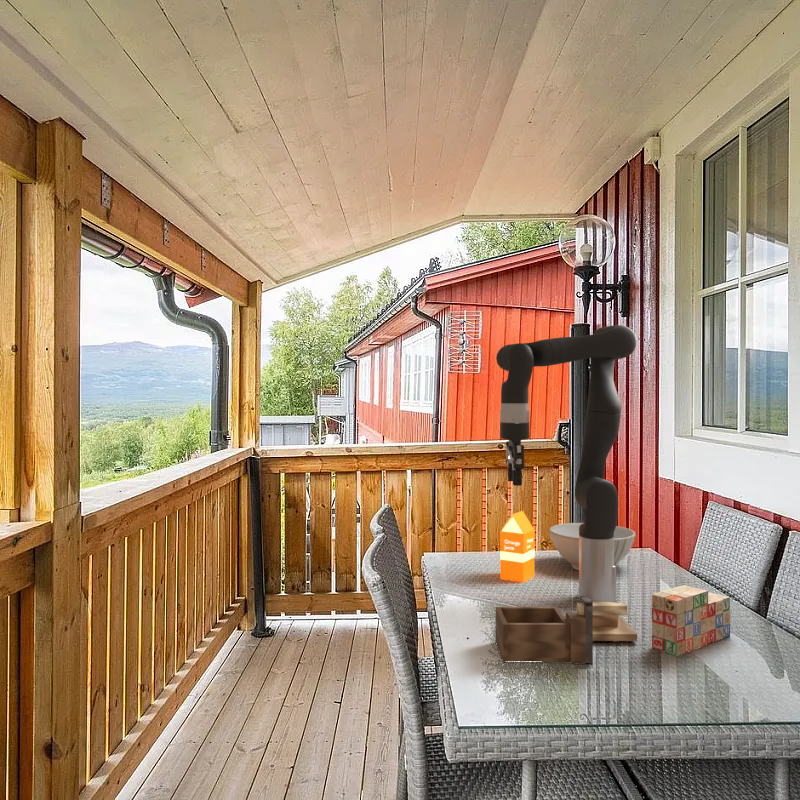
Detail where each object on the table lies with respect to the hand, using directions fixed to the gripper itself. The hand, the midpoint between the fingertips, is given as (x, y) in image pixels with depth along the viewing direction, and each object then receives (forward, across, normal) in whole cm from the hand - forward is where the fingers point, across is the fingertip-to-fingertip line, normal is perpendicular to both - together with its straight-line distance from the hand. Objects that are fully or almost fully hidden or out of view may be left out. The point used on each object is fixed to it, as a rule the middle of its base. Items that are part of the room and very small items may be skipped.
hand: (514, 483), depth 180 cm
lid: (+33, +18, +17) cm, 41 cm away
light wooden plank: (+23, +34, +13) cm, 43 cm away
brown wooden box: (+33, +29, +1) cm, 44 cm away
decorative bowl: (+33, -44, +32) cm, 64 cm away
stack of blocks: (+34, +23, +37) cm, 55 cm away
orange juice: (+33, -32, +6) cm, 47 cm away
